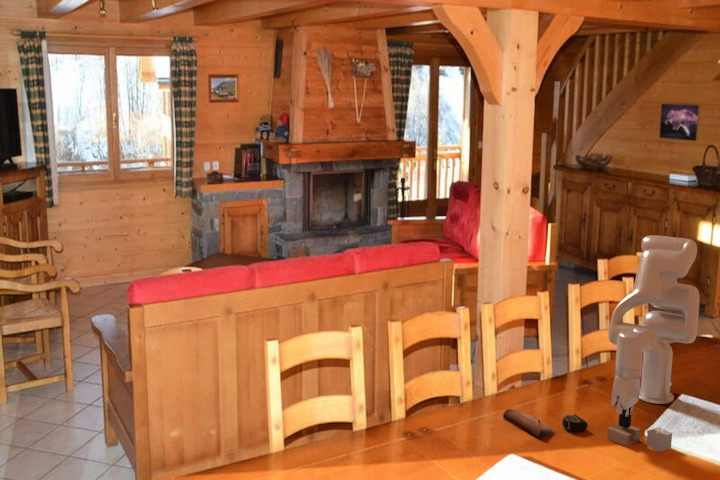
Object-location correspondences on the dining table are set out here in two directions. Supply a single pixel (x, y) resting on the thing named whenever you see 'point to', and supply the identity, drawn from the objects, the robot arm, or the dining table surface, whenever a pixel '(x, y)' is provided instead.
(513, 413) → the sunglasses case
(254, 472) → the dining table surface
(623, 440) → the brown block
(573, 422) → the tape measure
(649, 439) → the slate cube
